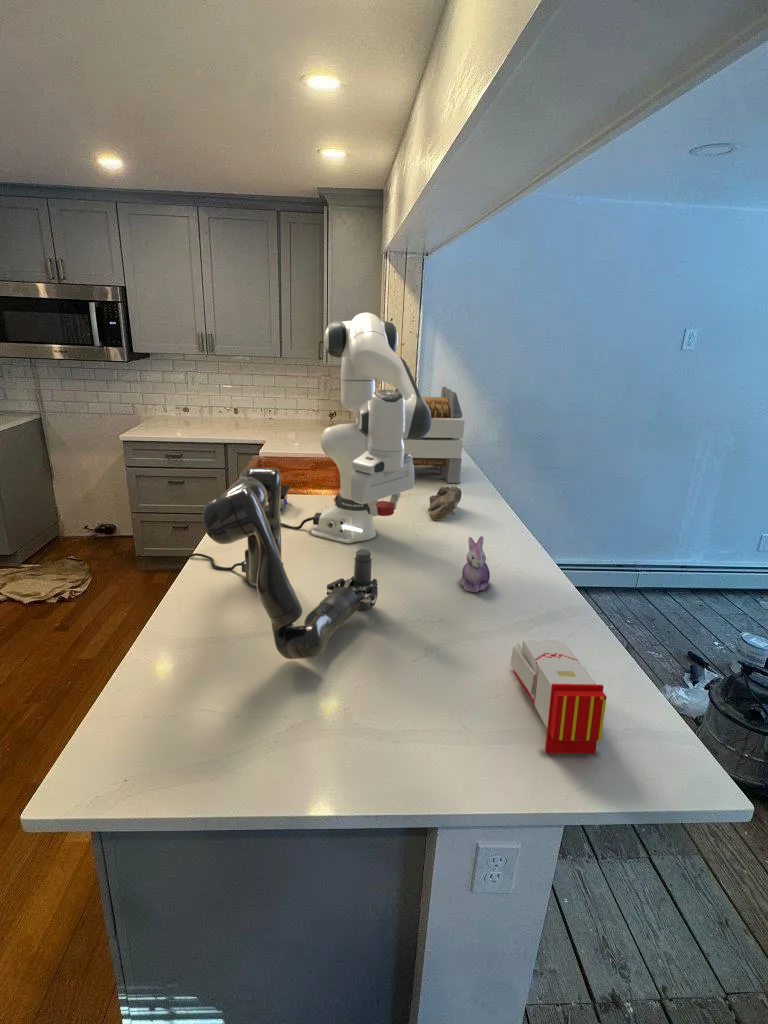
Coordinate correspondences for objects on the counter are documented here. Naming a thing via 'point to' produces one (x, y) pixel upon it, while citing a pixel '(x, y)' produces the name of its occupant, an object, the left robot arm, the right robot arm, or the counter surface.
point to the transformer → (440, 437)
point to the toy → (561, 695)
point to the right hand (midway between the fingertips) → (383, 512)
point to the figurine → (475, 568)
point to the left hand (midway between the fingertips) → (366, 579)
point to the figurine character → (283, 496)
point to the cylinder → (362, 571)
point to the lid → (385, 508)
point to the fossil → (444, 502)
